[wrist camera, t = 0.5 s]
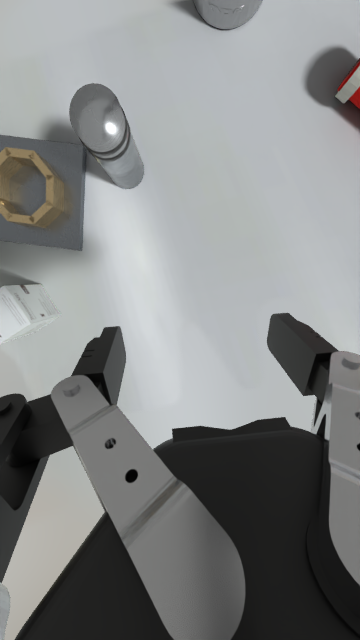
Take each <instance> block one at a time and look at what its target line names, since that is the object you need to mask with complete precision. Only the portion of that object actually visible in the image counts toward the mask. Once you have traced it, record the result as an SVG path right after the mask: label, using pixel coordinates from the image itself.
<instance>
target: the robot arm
mask: <svg viewBox="0 0 360 640" xmlns="http://www.w3.org/2000/svg"><path fill="white" fill-rule="evenodd" d="M261 2H262V0H194V4H195V6H196V8H197V11H198V12H199V14H200V15H201V17H202V18H203V19H204V20H205V21H206V22H207V23H208V24H210V25H212V26H214V27H216V28H220V29H232V28H236V27H239V26H241V25H243V24H244V23H246V22H247V21H248V20H249V19H250V18H252V16H253V15H254V14H255V13H256V11H257V10H258V8H259V6H260V4H261ZM267 345H268V348H269V350H270V351H271V353H272V354H273V355H274V357H275V358H276V360H277V361H278V362H279V364H280V365H281V366H282V368H283V369H284V370H285V372H286V373H287V375H288V376H289V377H290V379H291V380H292V381H293V383H294V384H295V385H296V387H297V388H298V389H299V391H300V392H301V393H302V395H303V396H308V395H315V396H316V397H317V398H316V401H315V404H314V412H313V419H312V427H311V432H309V431H305V430H303V429H299V428H295V427H290V425H289V423H288V422H287V420H286V418H285V417H281V418H272V419H263V420H257V421H254V422H251V423H249V424H246V425H244V426H241V427H238V428H236V429H232V430H227V429H219V428H212V427H204V426H196V427H186V428H176V429H172V431H173V433H172V434H173V438H172V439H170V440H167V441H165V442H163V443H162V444H160V445H158V446H157V447H156V448H154V449H153V450H152V448H151V447H150V446H149V445H148V443H147V442H146V441H145V440H144V438H143V437H142V436H141V435H140V434H139V432H138V431H137V430H136V429H135V427H134V426H133V425H132V424H131V423H130V421H129V420H128V419H127V418H126V416H125V415H124V414H123V413H122V411H121V410H120V409H119V408H118V406H117V401H118V396H119V391H120V387H121V382H122V377H123V373H124V368H125V363H126V352H125V347H124V342H123V337H122V332H121V328H120V326H116V327H105V328H104V329H103V332H102V334H101V336H100V337H97V338H94V339H93V340H91V341H90V342H89V343H88V344H87V346H86V348H85V350H84V352H83V354H82V356H81V358H80V360H79V362H78V364H77V365H76V367H75V369H74V371H73V373H72V375H71V377H68V378H66V379H64V380H62V381H61V382H59V383H58V384H57V385H56V386H55V387H54V388H53V390H52V392H51V394H50V395H47V396H44V397H41V398H38V399H35V400H32V401H29V402H27V400H26V399H25V397H24V396H23V395H21V394H10V395H6V396H3V397H1V398H0V640H4V636H5V629H6V624H7V620H8V616H9V610H10V595H9V592H8V590H7V588H6V587H5V586H4V585H3V584H2V581H3V578H4V575H5V573H6V570H7V567H8V565H9V562H10V559H11V557H12V554H13V551H14V548H15V546H16V543H17V541H18V538H19V535H20V533H21V530H22V527H23V525H24V522H25V519H26V517H27V514H28V511H29V509H30V505H31V503H32V501H33V498H34V495H35V493H36V490H37V487H38V485H39V482H40V479H41V476H42V474H43V471H44V469H45V466H46V463H47V461H48V458H49V455H50V454H53V453H55V452H58V451H61V450H63V449H66V448H68V447H70V446H74V449H75V451H76V453H77V455H78V457H79V459H80V461H81V463H82V465H83V467H84V469H85V471H86V473H87V475H88V477H89V480H90V481H91V484H92V486H93V488H94V490H95V492H96V494H97V496H98V498H99V501H100V503H101V505H102V507H103V509H104V511H105V513H104V514H103V516H102V517H101V518H100V520H99V521H98V523H97V524H96V526H95V527H94V528H93V530H92V531H91V532H90V534H89V535H88V536H87V538H86V539H85V541H84V542H83V543H82V545H81V546H80V548H79V549H78V550H77V552H76V553H75V555H74V556H73V558H72V559H71V560H70V562H69V563H68V565H67V566H66V567H65V569H64V570H63V571H62V573H61V574H60V576H59V577H58V578H57V580H56V581H55V583H54V584H53V585H52V587H51V588H50V590H49V591H48V592H47V594H46V595H45V596H44V598H43V599H42V601H41V602H40V604H39V605H38V606H37V608H36V609H35V610H34V612H33V613H32V615H31V616H30V617H29V619H28V621H26V623H25V624H24V626H23V627H22V629H21V630H20V632H19V633H18V635H17V637H16V639H15V640H360V355H358V354H355V353H351V352H346V351H338V350H337V349H336V348H335V347H333V346H332V345H331V344H330V343H329V342H327V341H326V340H325V339H324V338H323V337H321V336H320V335H319V334H318V333H316V332H315V331H314V330H313V329H312V328H311V327H309V326H308V325H306V324H304V323H302V322H300V321H297V320H296V319H295V318H294V317H292V316H291V315H290V314H289V313H280V314H273V315H272V316H271V319H270V325H269V331H268V337H267Z"/></svg>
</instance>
